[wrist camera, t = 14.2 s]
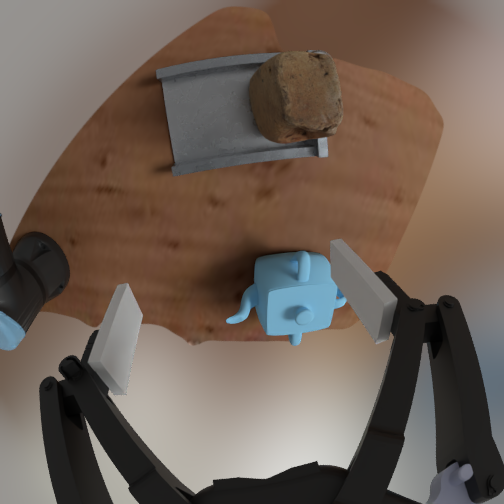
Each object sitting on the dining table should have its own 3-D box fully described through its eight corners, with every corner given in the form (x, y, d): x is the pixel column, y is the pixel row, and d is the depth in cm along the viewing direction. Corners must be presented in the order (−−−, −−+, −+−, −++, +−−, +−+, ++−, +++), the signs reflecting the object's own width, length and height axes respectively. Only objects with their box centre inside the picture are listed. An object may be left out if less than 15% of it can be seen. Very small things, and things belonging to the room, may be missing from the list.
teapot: (296, 220, 50) (321, 254, 38) (339, 274, 57) (366, 314, 45) (222, 279, 54) (224, 325, 42) (272, 323, 61) (284, 368, 49)
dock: (177, 171, 43) (167, 185, 34) (161, 74, 35) (146, 62, 26) (321, 151, 44) (346, 160, 35) (312, 58, 36) (335, 45, 28)
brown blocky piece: (244, 77, 37) (267, 46, 19) (290, 73, 37) (343, 46, 20) (254, 140, 42) (283, 156, 24) (299, 135, 42) (355, 149, 25)
